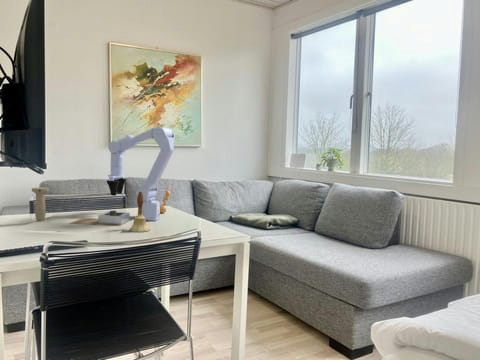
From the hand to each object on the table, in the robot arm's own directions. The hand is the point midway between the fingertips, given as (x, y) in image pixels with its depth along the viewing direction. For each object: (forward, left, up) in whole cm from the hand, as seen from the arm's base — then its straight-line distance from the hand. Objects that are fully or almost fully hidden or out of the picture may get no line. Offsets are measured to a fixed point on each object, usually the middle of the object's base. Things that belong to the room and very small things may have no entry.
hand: (116, 194), depth 192 cm
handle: (+24, +24, -11) cm, 36 cm away
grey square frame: (-6, +19, -9) cm, 22 cm away
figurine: (-20, -14, -11) cm, 27 cm away
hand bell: (-20, +27, -11) cm, 35 cm away
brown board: (0, +20, -10) cm, 23 cm away
